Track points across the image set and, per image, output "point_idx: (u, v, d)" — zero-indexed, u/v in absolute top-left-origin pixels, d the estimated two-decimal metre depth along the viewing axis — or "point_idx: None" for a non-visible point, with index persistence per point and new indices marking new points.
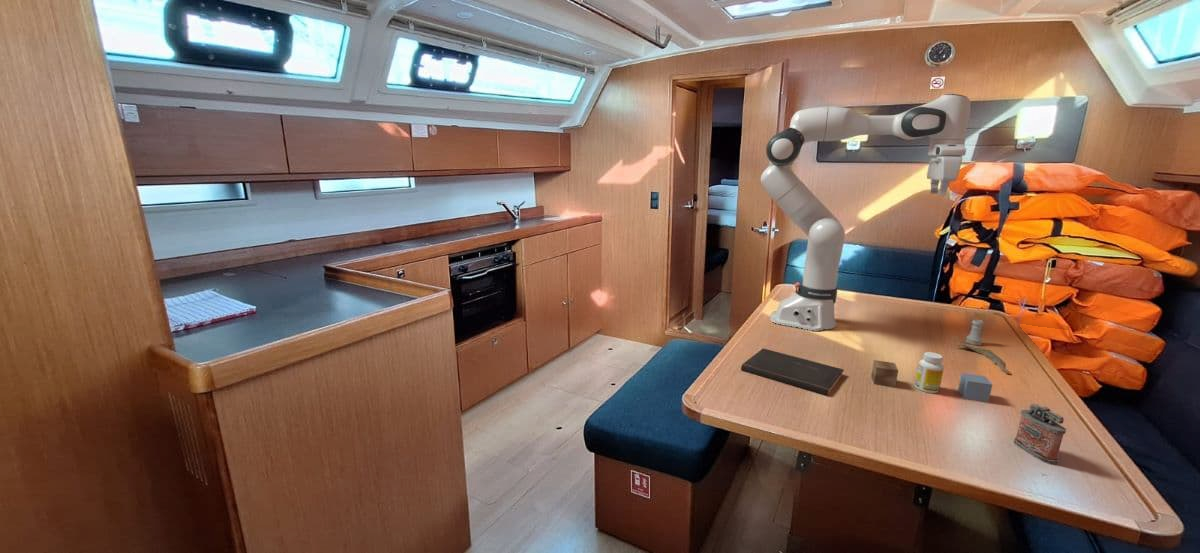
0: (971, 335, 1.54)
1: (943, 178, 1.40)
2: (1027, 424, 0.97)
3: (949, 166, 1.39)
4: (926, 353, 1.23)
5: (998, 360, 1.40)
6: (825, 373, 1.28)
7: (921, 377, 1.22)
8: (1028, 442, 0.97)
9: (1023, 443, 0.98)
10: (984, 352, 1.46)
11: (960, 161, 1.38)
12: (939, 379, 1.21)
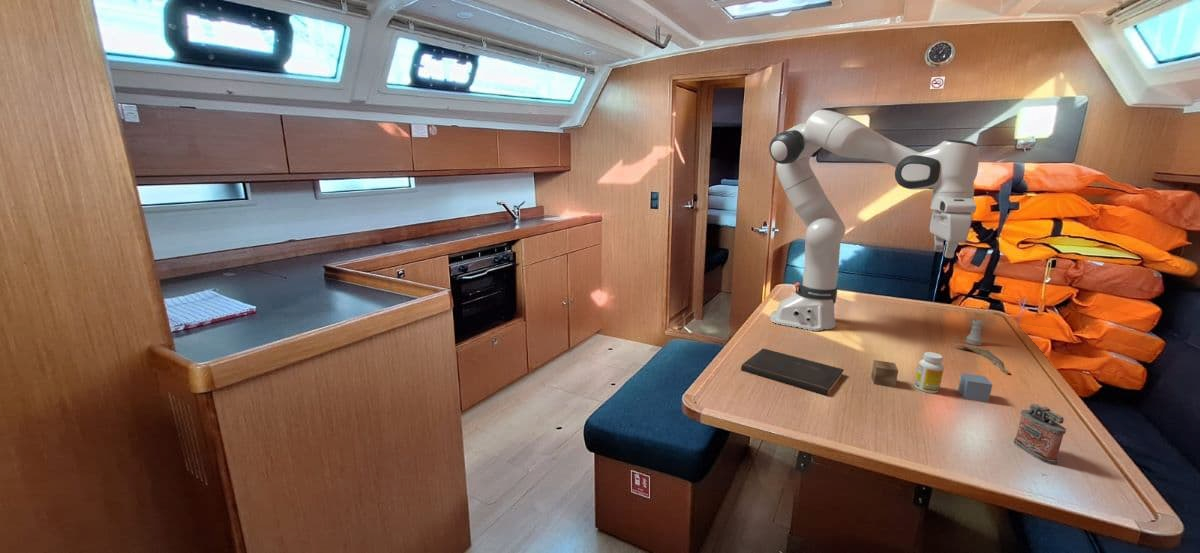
0: (971, 335, 1.54)
1: (950, 239, 1.19)
2: (1027, 424, 0.97)
3: (957, 225, 1.17)
4: (926, 353, 1.23)
5: (997, 360, 1.40)
6: (825, 373, 1.28)
7: (921, 377, 1.22)
8: (1028, 442, 0.97)
9: (1023, 443, 0.98)
10: (982, 352, 1.46)
11: (970, 220, 1.17)
12: (939, 379, 1.21)
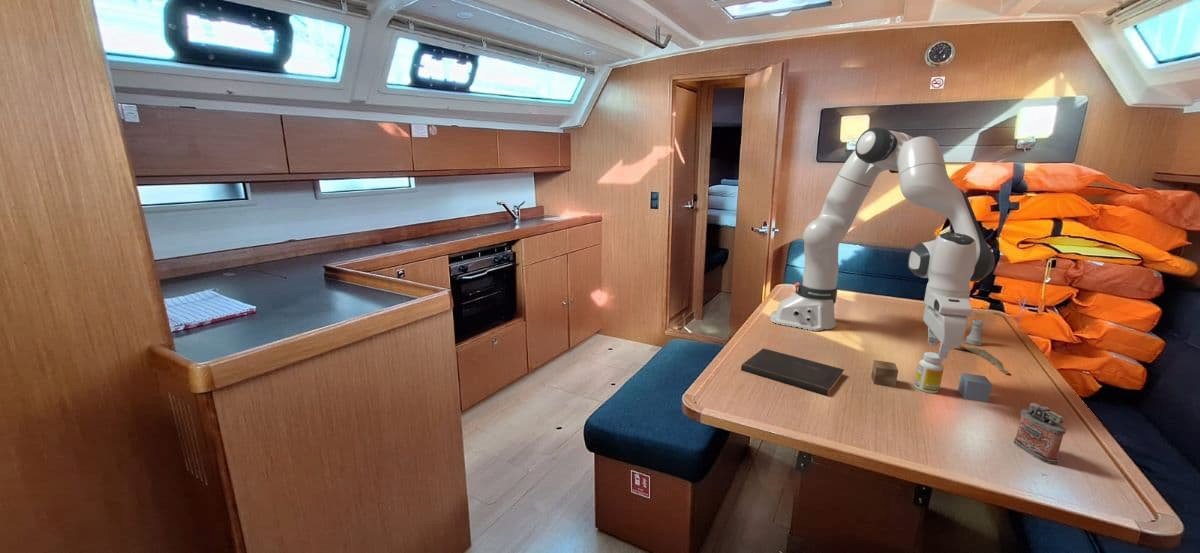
0: (971, 335, 1.54)
1: (944, 343, 1.12)
2: (1027, 424, 0.97)
3: (952, 329, 1.10)
4: (926, 353, 1.23)
5: (995, 360, 1.40)
6: (825, 373, 1.28)
7: (921, 377, 1.22)
8: (1028, 442, 0.97)
9: (1023, 443, 0.98)
10: (980, 352, 1.46)
11: (965, 324, 1.10)
12: (939, 379, 1.21)
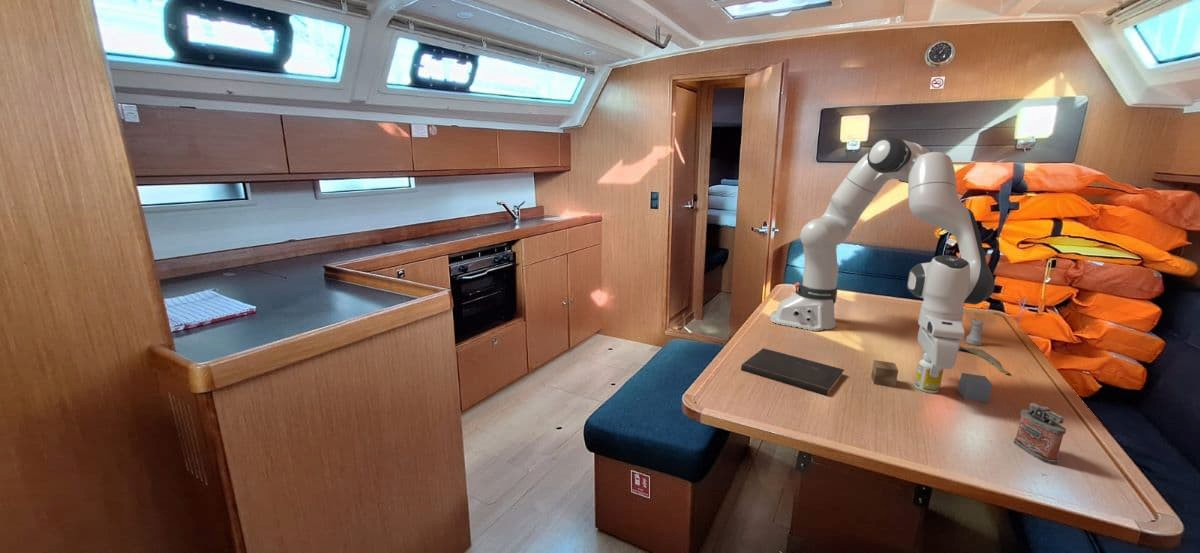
0: (971, 335, 1.54)
1: (936, 365, 1.13)
2: (1027, 425, 0.97)
3: (944, 352, 1.12)
4: None
5: (994, 360, 1.40)
6: (825, 373, 1.28)
7: (921, 377, 1.22)
8: (1028, 442, 0.97)
9: (1023, 443, 0.98)
10: (978, 352, 1.46)
11: (957, 347, 1.11)
12: (939, 379, 1.21)
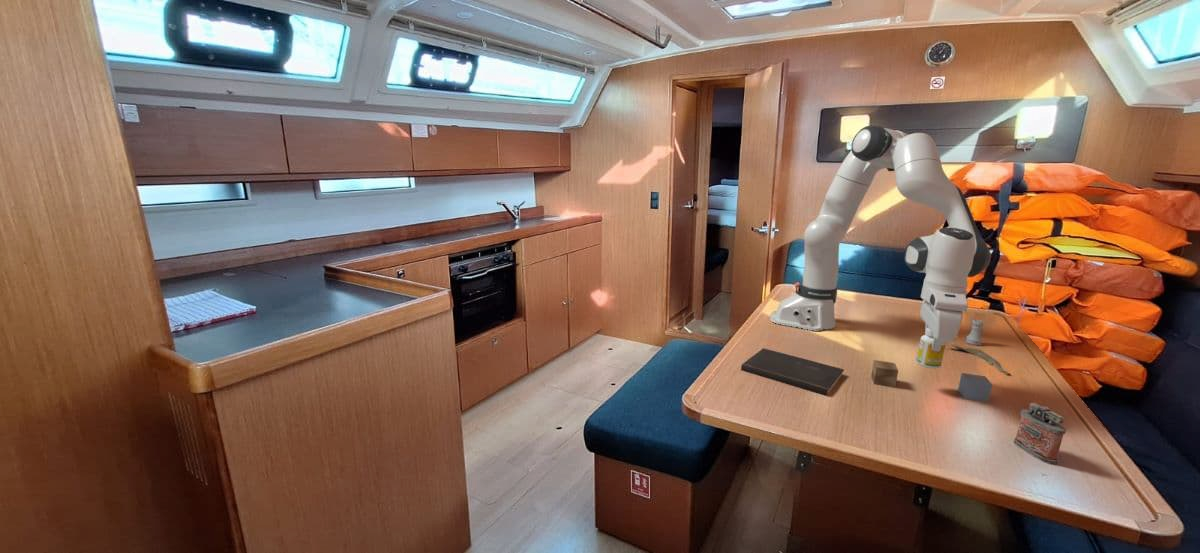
0: (971, 335, 1.54)
1: (938, 337, 1.12)
2: (1027, 424, 0.97)
3: (946, 324, 1.10)
4: (928, 328, 1.21)
5: (993, 360, 1.40)
6: (825, 373, 1.28)
7: (922, 352, 1.21)
8: (1028, 442, 0.97)
9: (1023, 443, 0.98)
10: (976, 352, 1.46)
11: (960, 319, 1.09)
12: (941, 354, 1.19)
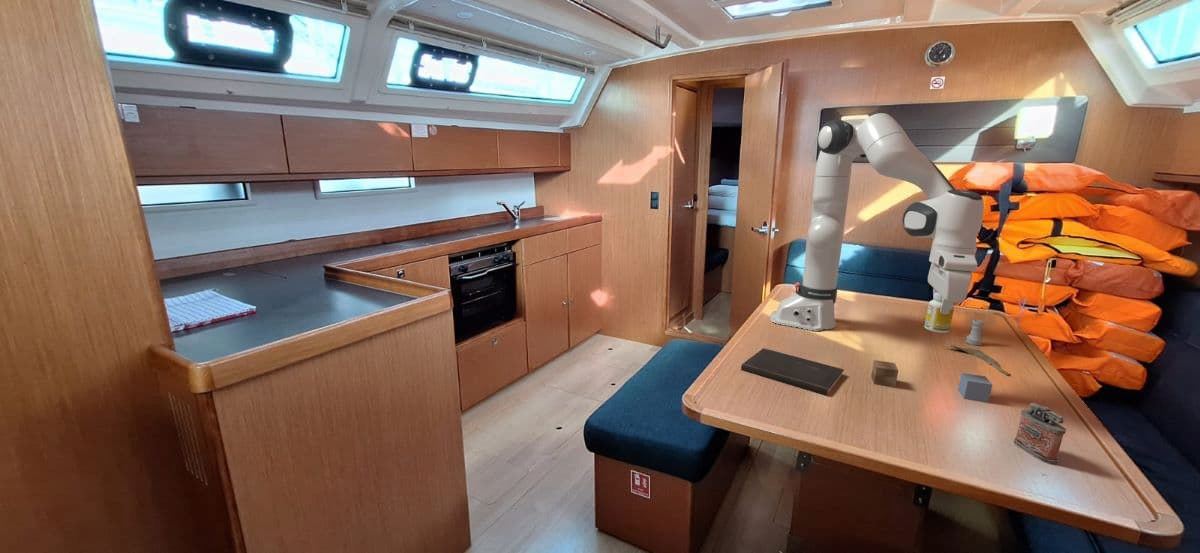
0: (971, 335, 1.54)
1: (947, 298, 1.11)
2: (1027, 424, 0.97)
3: (956, 284, 1.10)
4: (936, 293, 1.21)
5: (992, 360, 1.40)
6: (825, 373, 1.29)
7: (931, 317, 1.20)
8: (1028, 442, 0.97)
9: (1023, 443, 0.98)
10: (975, 352, 1.46)
11: (969, 279, 1.09)
12: (949, 318, 1.19)
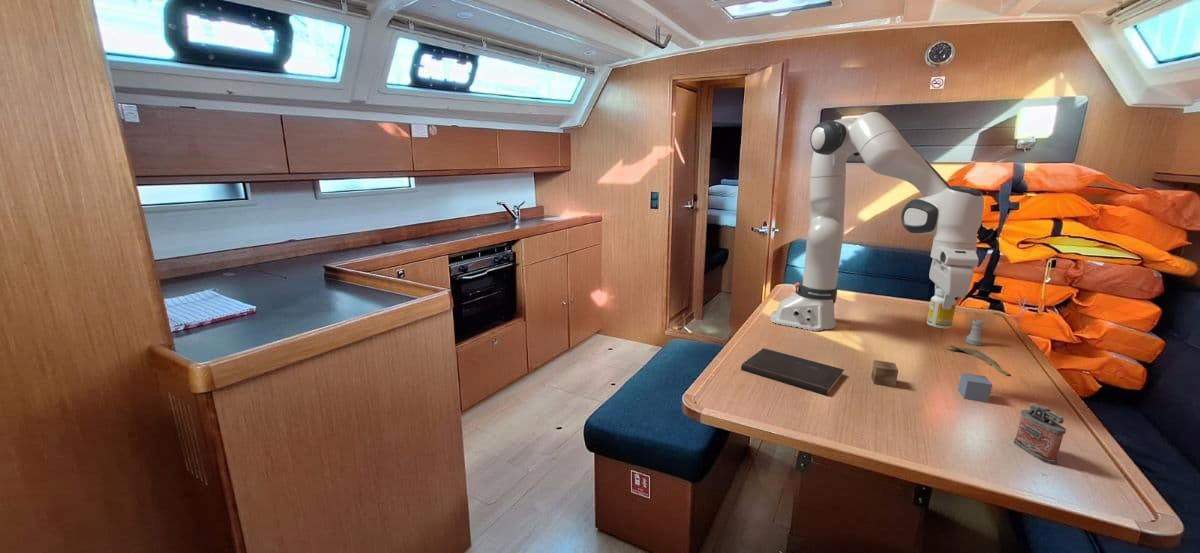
0: (971, 335, 1.54)
1: (950, 293, 1.12)
2: (1027, 424, 0.97)
3: (958, 279, 1.11)
4: (938, 289, 1.22)
5: (991, 361, 1.40)
6: (825, 373, 1.29)
7: (933, 312, 1.22)
8: (1028, 442, 0.97)
9: (1023, 443, 0.98)
10: (974, 352, 1.46)
11: (971, 274, 1.10)
12: (952, 314, 1.20)
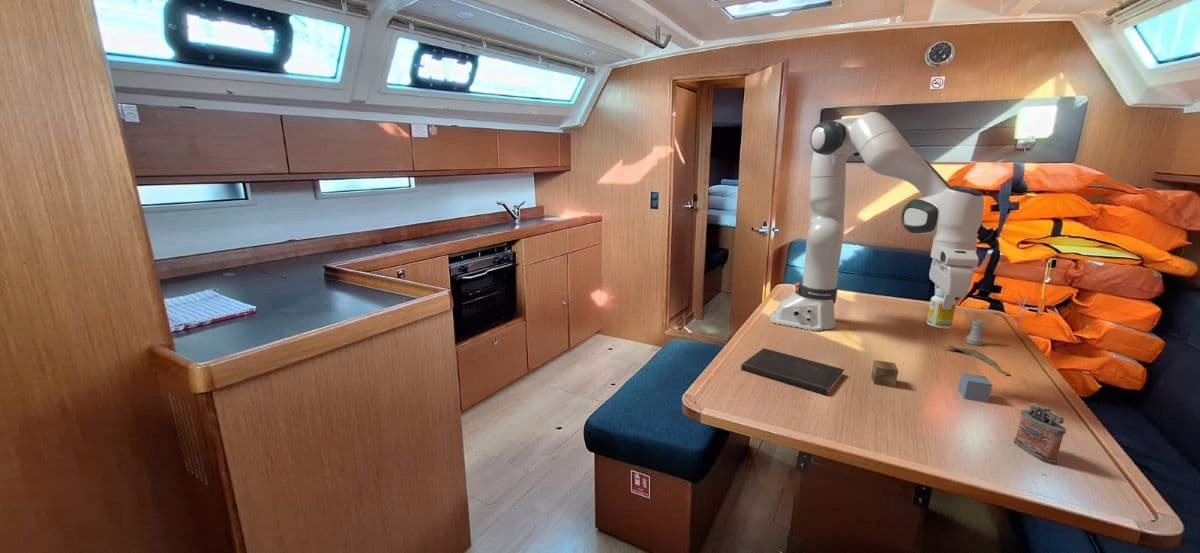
0: (971, 335, 1.54)
1: (950, 293, 1.12)
2: (1027, 425, 0.97)
3: (958, 279, 1.11)
4: (938, 289, 1.22)
5: (990, 361, 1.40)
6: (825, 373, 1.29)
7: (933, 312, 1.22)
8: (1028, 442, 0.97)
9: (1023, 443, 0.98)
10: (972, 353, 1.46)
11: (971, 274, 1.10)
12: (952, 314, 1.20)
